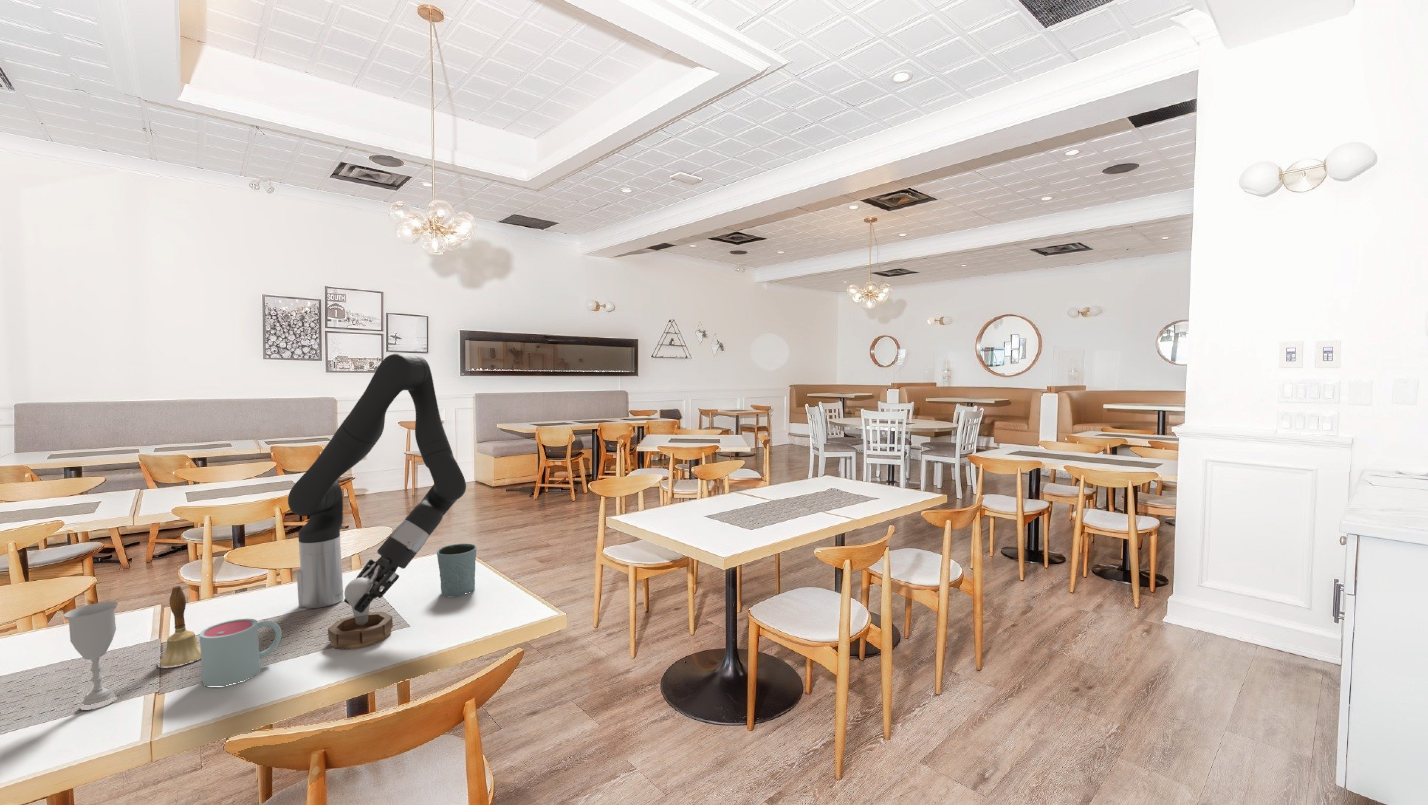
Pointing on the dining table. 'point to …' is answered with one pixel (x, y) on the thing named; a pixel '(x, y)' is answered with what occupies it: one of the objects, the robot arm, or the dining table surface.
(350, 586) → the lightbulb
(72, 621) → the chalice
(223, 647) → the mug
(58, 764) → the dining table surface
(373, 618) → the holder
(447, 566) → the teal cylindrical pot
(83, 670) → the dining table surface
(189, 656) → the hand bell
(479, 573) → the dining table surface
